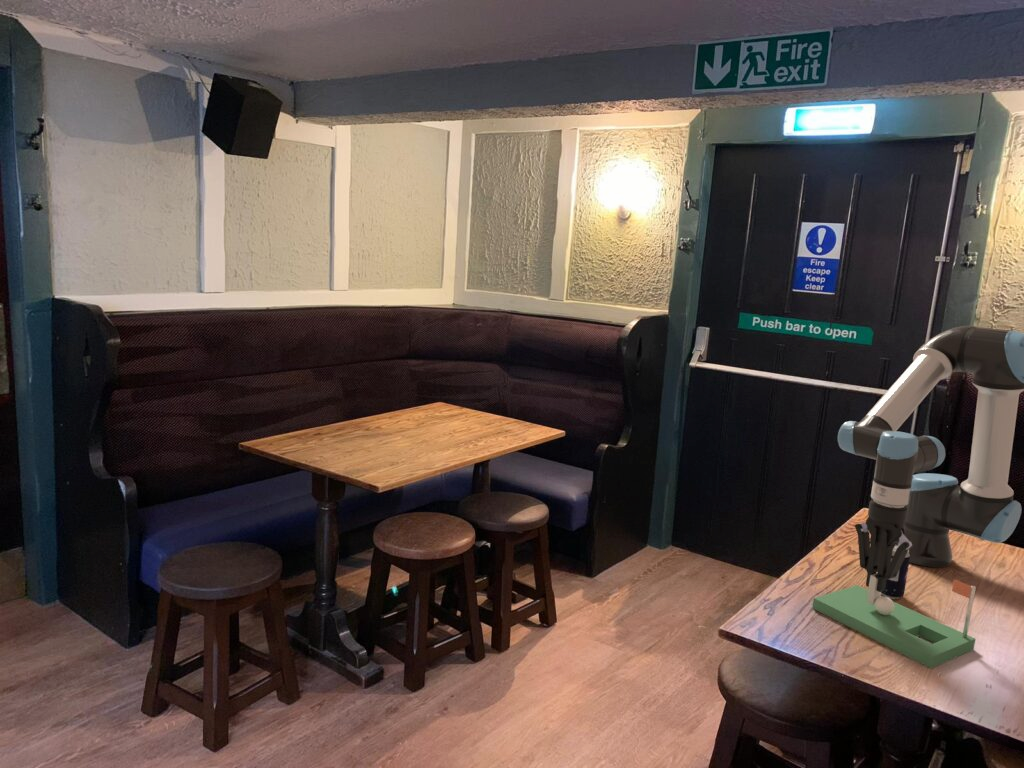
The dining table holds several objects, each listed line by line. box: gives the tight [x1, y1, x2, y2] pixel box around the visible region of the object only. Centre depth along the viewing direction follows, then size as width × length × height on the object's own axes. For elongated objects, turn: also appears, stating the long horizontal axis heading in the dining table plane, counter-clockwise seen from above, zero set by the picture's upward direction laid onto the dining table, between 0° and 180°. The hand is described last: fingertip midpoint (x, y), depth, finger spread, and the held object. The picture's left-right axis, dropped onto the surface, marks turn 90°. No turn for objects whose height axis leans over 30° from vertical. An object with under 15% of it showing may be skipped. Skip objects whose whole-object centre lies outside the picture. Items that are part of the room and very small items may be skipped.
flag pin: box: [951, 579, 977, 638], centre depth 165 cm, size 1×4×14 cm, turn 32°
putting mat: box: [812, 584, 976, 669], centre depth 171 cm, size 16×28×2 cm, turn 32°
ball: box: [875, 595, 895, 615], centre depth 172 cm, size 4×4×4 cm
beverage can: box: [881, 545, 910, 600], centre depth 187 cm, size 6×6×12 cm
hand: (872, 602), depth 174 cm, fingers closed
